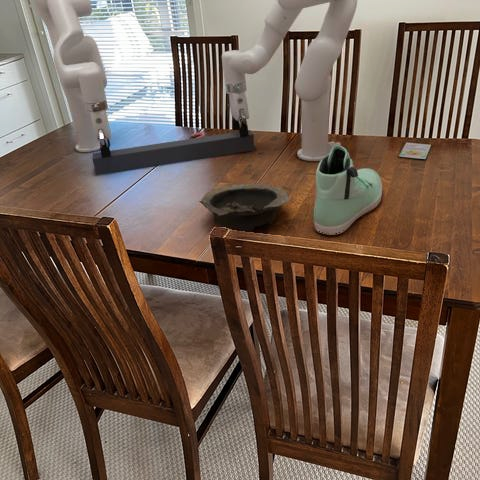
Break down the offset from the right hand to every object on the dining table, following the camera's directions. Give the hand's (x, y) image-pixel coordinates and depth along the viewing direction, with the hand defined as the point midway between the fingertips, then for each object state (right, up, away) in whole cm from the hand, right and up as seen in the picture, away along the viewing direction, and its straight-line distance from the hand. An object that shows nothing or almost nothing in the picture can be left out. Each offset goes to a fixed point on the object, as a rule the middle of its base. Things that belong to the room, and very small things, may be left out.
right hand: (241, 133), depth 182 cm
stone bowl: (+1, -34, -44) cm, 56 cm away
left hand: (-49, -8, -7) cm, 50 cm away
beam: (-24, -10, 0) cm, 26 cm away
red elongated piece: (-20, 0, +15) cm, 25 cm away
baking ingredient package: (+63, -9, -10) cm, 64 cm away
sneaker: (+31, -31, -43) cm, 61 cm away
